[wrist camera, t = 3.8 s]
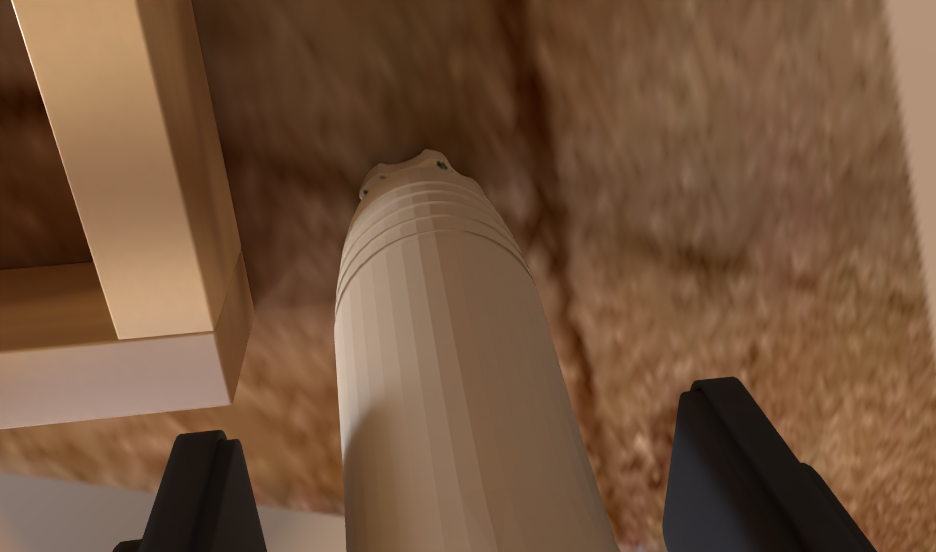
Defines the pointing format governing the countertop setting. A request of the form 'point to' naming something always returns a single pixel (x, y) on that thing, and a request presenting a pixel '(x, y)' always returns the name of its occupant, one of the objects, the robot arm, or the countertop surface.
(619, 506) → the countertop surface
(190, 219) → the socket block
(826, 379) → the countertop surface
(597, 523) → the handle
